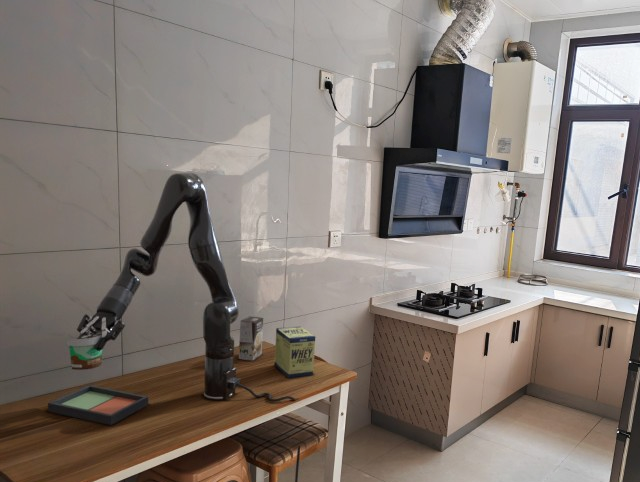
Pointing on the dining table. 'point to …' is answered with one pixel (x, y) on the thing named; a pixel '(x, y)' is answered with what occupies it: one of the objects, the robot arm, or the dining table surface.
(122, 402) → the sorting tray
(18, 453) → the dining table surface
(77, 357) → the food container
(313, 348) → the protein box
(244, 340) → the coffee box
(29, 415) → the dining table surface
